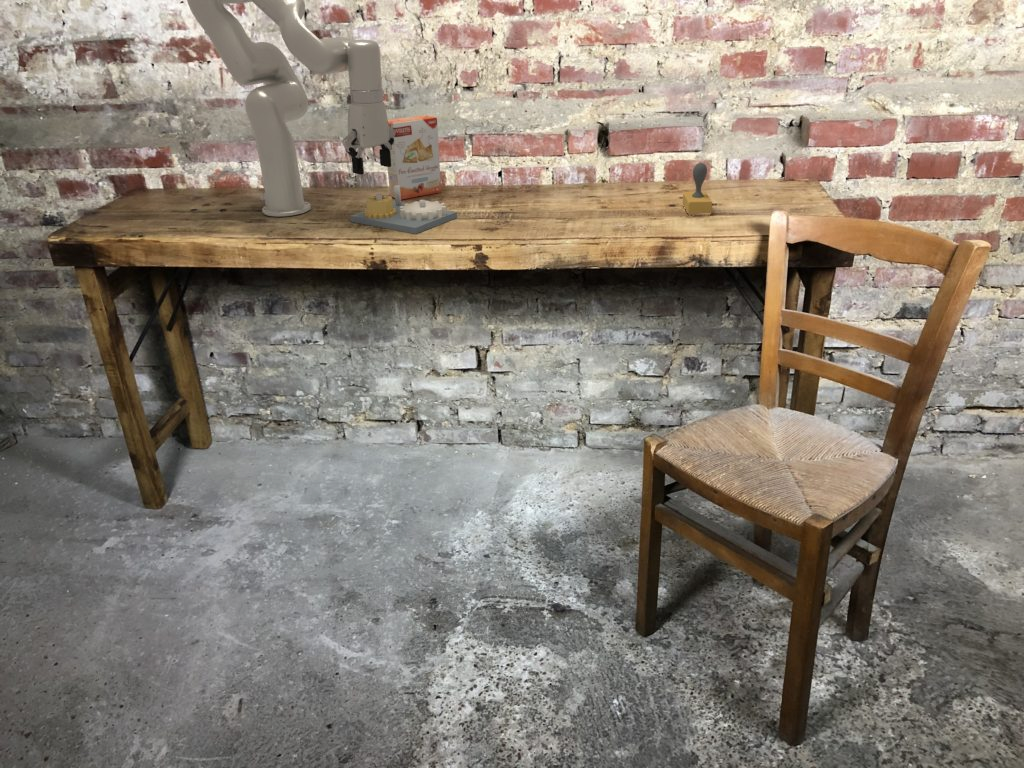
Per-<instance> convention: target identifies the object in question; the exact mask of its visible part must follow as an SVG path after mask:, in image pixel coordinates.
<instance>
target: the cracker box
mask: <svg viewBox="0 0 1024 768" xmlns="http://www.w3.org/2000/svg"><path fill="white" fill-rule="evenodd" d="M388 126H389V127H391V128H392V129H394V130H396V133H395V137H394V143H393V144H392V150H390V154H391V167H387V177H388V186H389V196H392V199H393V198H394V199H395V192H394V186H395V185H399V186H400V194H401V201H402V200H407V199H413V198H417V197H418V196H419V197H424V196H429V195H434V194H440V193H442V183H441V182H442V181H441V180H442V179H441V167H440V166H441V164H440V150H439V149H440V148H439V147H440V146H439V133H438V132H439V131H438V130H439V129H438V118H437V117H436V116H433V115H428V114H425V115H418V116H417V115H416V116H409V117H400V118H391V119H388Z"/></svg>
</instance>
